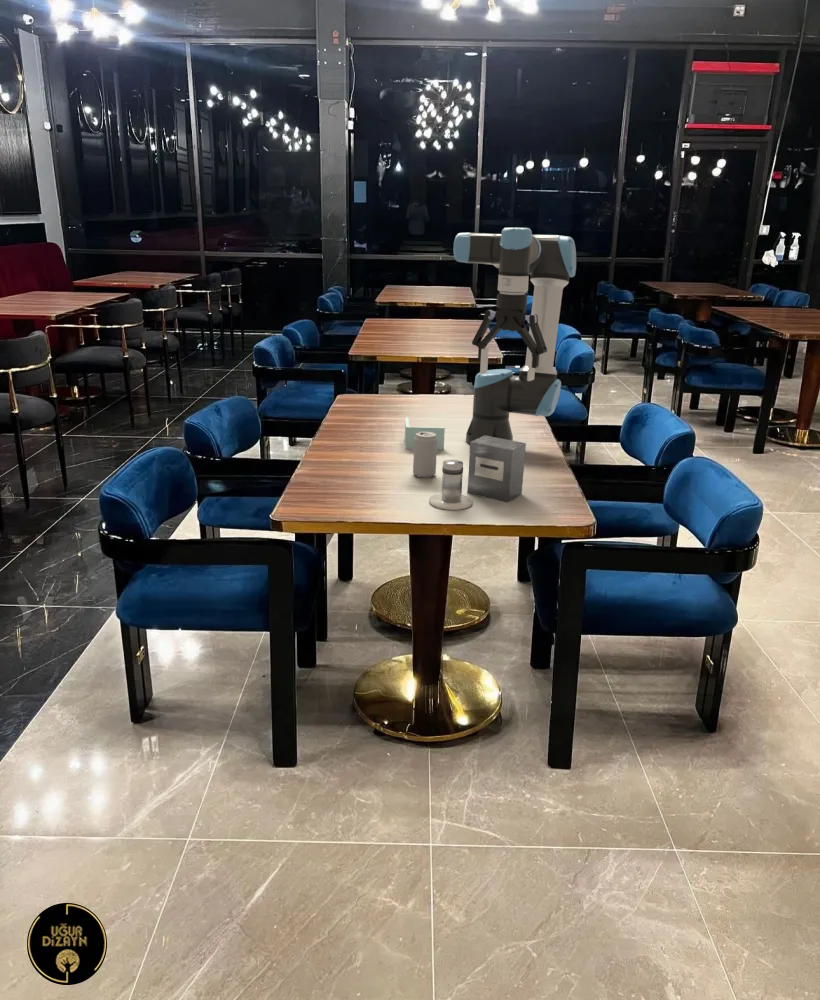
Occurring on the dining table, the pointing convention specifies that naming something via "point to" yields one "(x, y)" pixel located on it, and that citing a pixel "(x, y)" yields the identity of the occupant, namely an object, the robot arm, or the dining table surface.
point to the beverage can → (425, 454)
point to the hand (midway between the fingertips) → (506, 376)
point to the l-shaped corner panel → (411, 431)
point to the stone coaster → (438, 503)
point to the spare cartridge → (452, 481)
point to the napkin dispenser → (496, 468)
